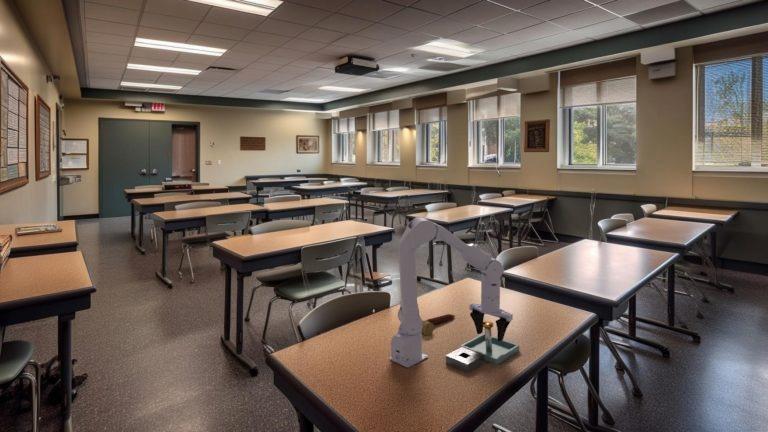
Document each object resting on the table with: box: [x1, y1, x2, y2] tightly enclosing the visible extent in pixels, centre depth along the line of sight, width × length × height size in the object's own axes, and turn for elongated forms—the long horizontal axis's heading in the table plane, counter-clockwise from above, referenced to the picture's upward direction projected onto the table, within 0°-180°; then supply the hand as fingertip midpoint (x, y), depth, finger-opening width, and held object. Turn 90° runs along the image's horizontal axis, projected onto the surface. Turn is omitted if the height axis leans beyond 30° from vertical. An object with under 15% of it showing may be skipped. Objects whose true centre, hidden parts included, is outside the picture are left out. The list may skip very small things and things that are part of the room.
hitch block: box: [445, 347, 485, 373], centre depth 124 cm, size 8×8×2 cm
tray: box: [459, 332, 520, 367], centre depth 132 cm, size 13×13×2 cm
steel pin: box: [482, 321, 494, 352], centre depth 131 cm, size 3×3×9 cm
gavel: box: [422, 313, 456, 336], centre depth 154 cm, size 21×5×10 cm
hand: (489, 336), depth 131 cm, fingers open, 7 cm apart
